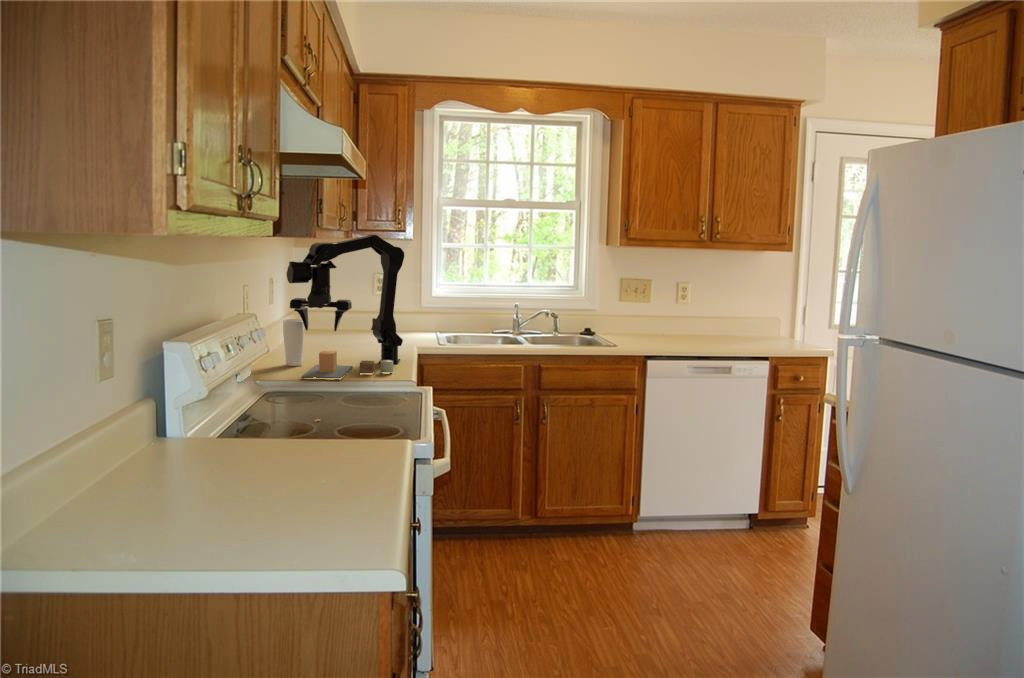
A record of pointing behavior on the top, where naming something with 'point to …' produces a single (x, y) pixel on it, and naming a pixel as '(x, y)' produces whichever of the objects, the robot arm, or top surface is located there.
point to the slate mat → (337, 374)
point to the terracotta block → (328, 361)
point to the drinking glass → (293, 341)
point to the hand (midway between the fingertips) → (321, 330)
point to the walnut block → (366, 366)
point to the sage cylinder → (386, 366)
